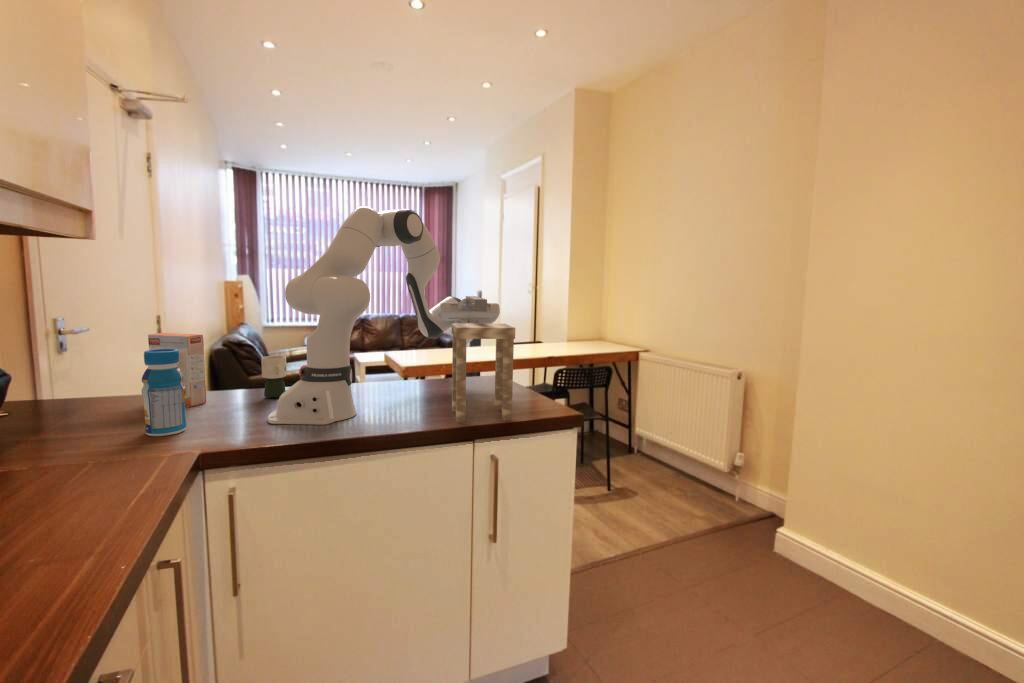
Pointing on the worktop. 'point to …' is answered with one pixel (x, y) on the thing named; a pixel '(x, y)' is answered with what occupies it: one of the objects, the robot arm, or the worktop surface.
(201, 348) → the cracker box
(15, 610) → the worktop surface
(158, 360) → the beverage bottle
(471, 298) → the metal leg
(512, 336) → the stool
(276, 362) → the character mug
